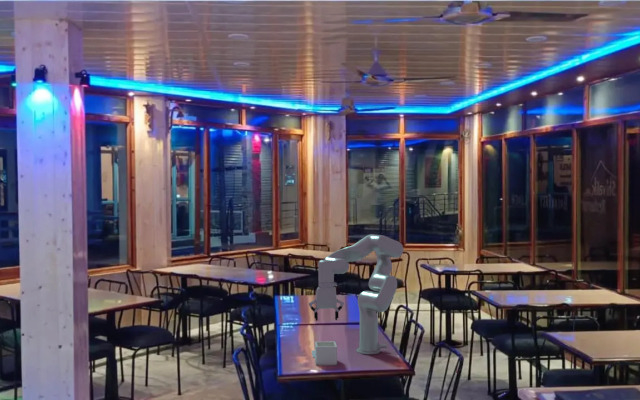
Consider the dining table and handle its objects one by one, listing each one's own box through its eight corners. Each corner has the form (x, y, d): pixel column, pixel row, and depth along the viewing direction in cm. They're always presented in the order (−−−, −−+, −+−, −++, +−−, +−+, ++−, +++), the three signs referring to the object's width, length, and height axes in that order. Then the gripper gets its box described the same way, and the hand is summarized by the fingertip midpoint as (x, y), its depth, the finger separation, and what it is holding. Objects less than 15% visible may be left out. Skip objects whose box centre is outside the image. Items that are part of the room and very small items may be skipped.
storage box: (334, 359, 303) (335, 341, 303) (336, 365, 293) (337, 346, 293) (314, 359, 303) (314, 341, 302) (316, 365, 293) (316, 346, 292)
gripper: (342, 283, 303) (342, 317, 303) (308, 284, 301) (308, 318, 302) (344, 286, 295) (344, 321, 296) (309, 286, 294) (309, 322, 294)
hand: (326, 319), depth 299 cm, fingers open, 9 cm apart
